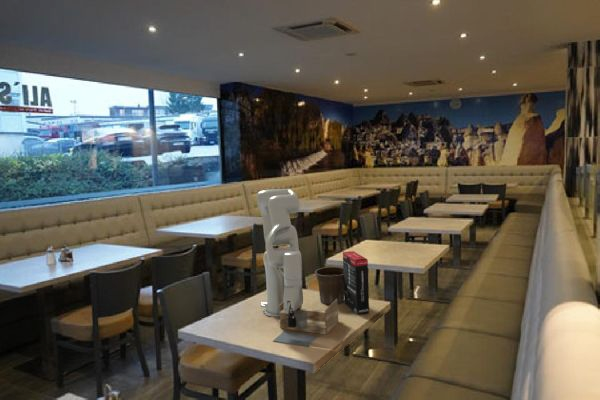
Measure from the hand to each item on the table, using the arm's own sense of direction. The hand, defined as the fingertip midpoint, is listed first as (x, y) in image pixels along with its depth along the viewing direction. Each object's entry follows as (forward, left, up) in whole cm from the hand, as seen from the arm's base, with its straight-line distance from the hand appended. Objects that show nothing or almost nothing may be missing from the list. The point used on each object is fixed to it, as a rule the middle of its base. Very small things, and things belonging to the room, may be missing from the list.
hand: (295, 323), depth 190 cm
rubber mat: (0, 0, -7) cm, 7 cm away
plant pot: (-1, +49, -7) cm, 49 cm away
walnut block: (-1, 0, -1) cm, 1 cm away
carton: (0, +16, -7) cm, 17 cm away
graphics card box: (+14, +42, -7) cm, 44 cm away
